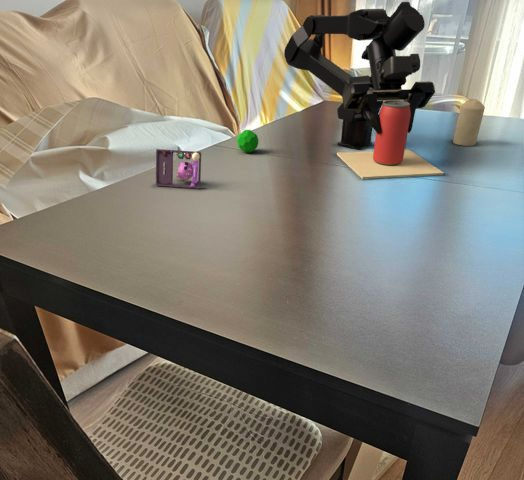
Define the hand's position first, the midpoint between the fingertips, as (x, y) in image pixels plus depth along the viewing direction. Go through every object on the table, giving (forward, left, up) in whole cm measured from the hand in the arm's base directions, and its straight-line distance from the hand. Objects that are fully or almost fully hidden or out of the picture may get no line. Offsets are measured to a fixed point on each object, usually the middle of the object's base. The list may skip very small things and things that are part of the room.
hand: (394, 132), depth 107 cm
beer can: (-1, +1, -7) cm, 7 cm away
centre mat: (-1, +1, -7) cm, 7 cm away
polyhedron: (-31, -12, -7) cm, 34 cm away
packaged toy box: (-26, -38, -7) cm, 47 cm away
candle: (+5, +30, -7) cm, 31 cm away
